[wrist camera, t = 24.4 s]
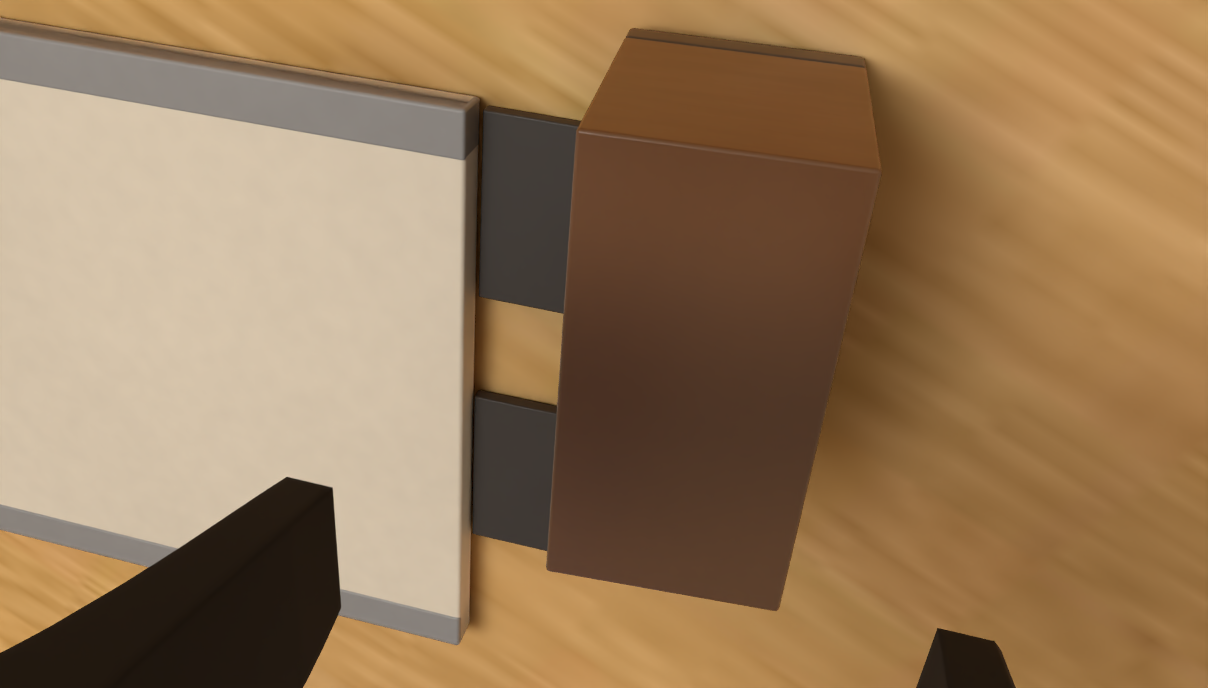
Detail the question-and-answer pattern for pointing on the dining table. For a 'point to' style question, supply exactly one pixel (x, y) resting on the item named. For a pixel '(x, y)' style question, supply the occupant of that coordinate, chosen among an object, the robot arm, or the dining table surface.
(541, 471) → the charcoal rectangular plate
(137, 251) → the whiteboard
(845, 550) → the dining table surface
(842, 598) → the dining table surface
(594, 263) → the brown rectangular block
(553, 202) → the dark grey tile
